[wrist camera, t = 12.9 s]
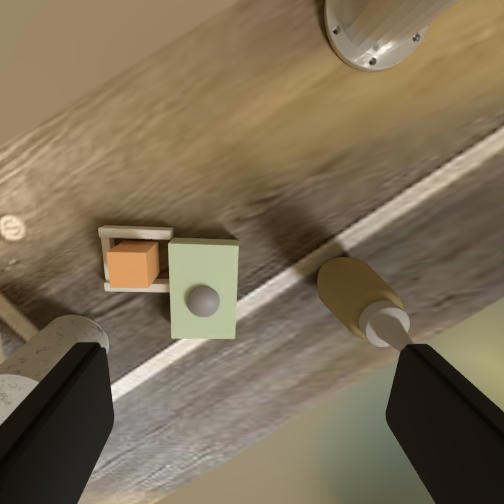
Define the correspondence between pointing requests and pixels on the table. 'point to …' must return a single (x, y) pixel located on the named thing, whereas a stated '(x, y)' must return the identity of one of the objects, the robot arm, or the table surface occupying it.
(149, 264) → the matte orange cube
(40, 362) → the speckled stone cylinder
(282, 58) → the table surface
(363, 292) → the squeeze bottle
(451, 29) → the table surface
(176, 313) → the green plate with dome
